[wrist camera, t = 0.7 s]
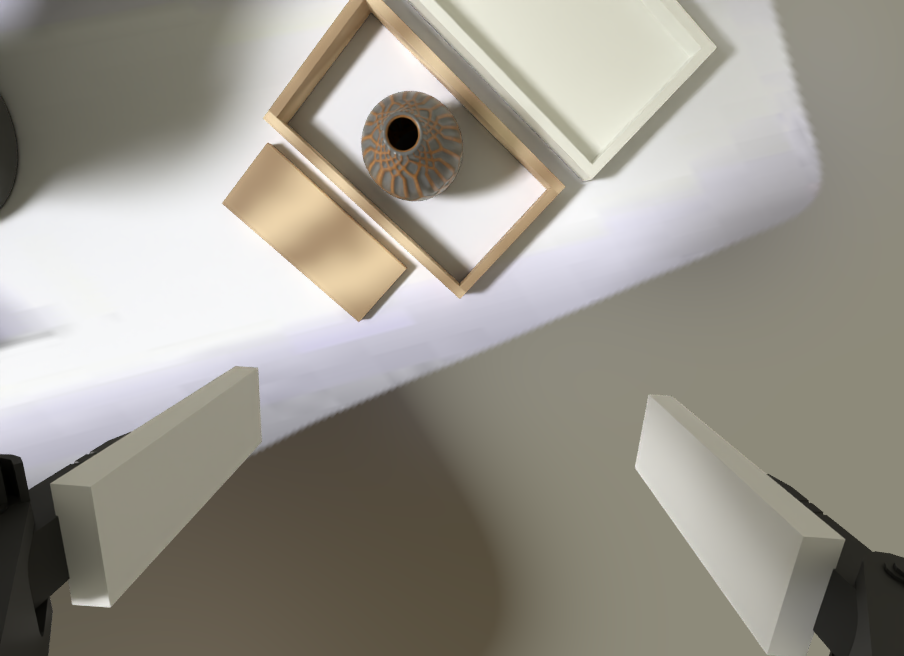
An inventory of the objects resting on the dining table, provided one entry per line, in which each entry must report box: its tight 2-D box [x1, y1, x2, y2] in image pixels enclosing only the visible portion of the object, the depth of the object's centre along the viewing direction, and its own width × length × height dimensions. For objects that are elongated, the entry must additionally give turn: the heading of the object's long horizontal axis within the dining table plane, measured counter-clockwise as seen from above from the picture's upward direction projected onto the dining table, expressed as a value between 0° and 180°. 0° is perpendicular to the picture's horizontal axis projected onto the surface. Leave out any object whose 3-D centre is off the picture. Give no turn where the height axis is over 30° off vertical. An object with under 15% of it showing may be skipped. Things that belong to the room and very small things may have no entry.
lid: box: [222, 143, 407, 322], centre depth 34 cm, size 14×6×1 cm, turn 47°
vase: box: [361, 91, 463, 201], centre depth 29 cm, size 7×7×9 cm
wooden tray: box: [263, 0, 565, 299], centre depth 32 cm, size 19×11×2 cm, turn 47°
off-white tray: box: [407, 0, 717, 182], centre depth 29 cm, size 19×11×2 cm, turn 47°
